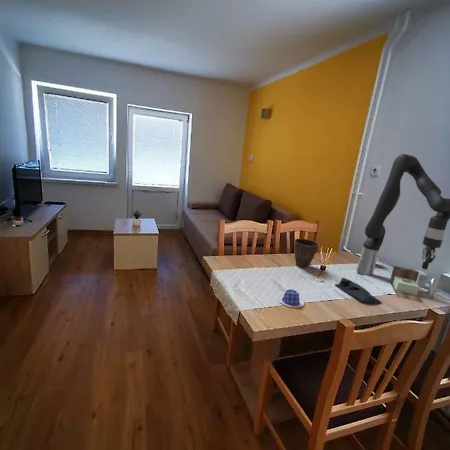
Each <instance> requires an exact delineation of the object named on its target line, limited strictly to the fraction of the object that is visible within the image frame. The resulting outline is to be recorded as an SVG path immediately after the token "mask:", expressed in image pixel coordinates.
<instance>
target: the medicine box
mask: <svg viewBox="0 0 450 450" xmlns="http://www.w3.org/2000/svg"><path fill="white" fill-rule="evenodd" d="M414 270H415V271H418V272H419V274H418V278H417V281H416V283H417V284H418V286H419V288H426V287H425V286H426V284H427V280H428V276H429V275H428V274H426V273H425V272H424V271H422V270H419V269H414Z"/></svg>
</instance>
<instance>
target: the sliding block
mask: <svg viewBox="0 0 450 450" xmlns="http://www.w3.org/2000/svg"><path fill="white" fill-rule="evenodd" d="M393 286H394V287H395V289H396V291H400V292H404V293H409V294H413V295H417V294H418V295H419V290H420V287H419V286H418V284H417V283H416V282H415V280H411V279H406V278H402V277H397V276H395V277H394V281H393Z"/></svg>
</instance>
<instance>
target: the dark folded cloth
mask: <svg viewBox="0 0 450 450" xmlns="http://www.w3.org/2000/svg"><path fill="white" fill-rule="evenodd" d="M334 285H335V287H337V288H339V289H340V290H341V291H343V292H344V293H346V294H348V295H349V296H351V297H353V299H355V300H357V301H359V302H361V303H371V304H379V305H380V304H383V302H382V301H381V300H380V299H378V298H376V297H375V296H374V295H372V294H371V292H369V291H368V290H367V289H366V288H364V287H363V286H362V285H360V284H358V283H356V282H355V281H352V280H350V279H348V278H345V277H342V278H341V280H340V281H339V283H335V284H334Z"/></svg>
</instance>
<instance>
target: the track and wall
mask: <svg viewBox="0 0 450 450" xmlns="http://www.w3.org/2000/svg"><path fill="white" fill-rule="evenodd" d="M415 270H416V269H411V268H410V269H409V268H405V267H402V266H396V265H393V268H392V272H391V275H390V279H389V283H390V285H391V287H392V289H393V291H394V293H395V295H396V297H397V298H402V299H406V300H409V301H413V302H418V303H422V304H424V303H425V302H424V300H422V298H421V297H420V295H419V293H418V294H417V295H413V294H409V293H404V292H400V291H396V289H395V287H394V286H393V281H394V277H395V276H397V277H402V278H406V279H411V280H415V282H416V281H417V278H418V274H419V272H418V271H415Z"/></svg>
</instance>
